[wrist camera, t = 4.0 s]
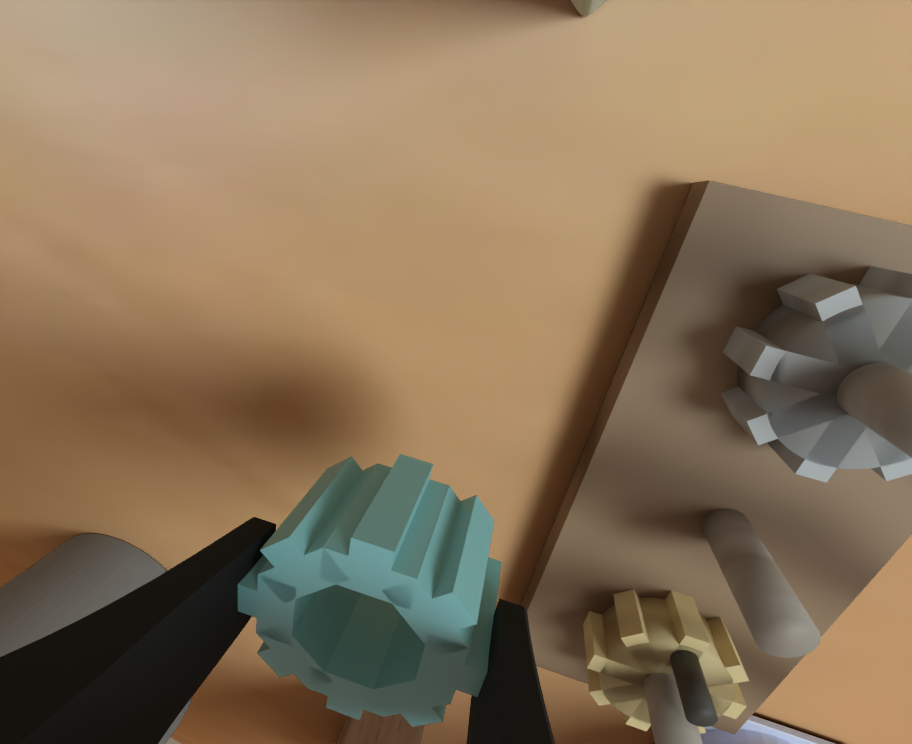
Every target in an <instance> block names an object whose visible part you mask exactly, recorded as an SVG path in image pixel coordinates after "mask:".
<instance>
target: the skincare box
mask: <svg viewBox="0 0 912 744" xmlns="http://www.w3.org/2000/svg"><path fill="white" fill-rule="evenodd" d="M605 1H606V0H571V2H572V3H573V5H574V6H575V8H576V9H577V11H578V12H579V13H580V14H581V15H583V16H588V15H590V14H591V13H593V12H594V11H595V10H596V9H597V8H598V7H600V6H601V5H602V4H603V3H604V2H605Z"/></svg>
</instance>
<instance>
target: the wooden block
mask: <svg viewBox="0 0 912 744" xmlns="http://www.w3.org/2000/svg"><path fill="white" fill-rule="evenodd" d="M423 729H424V725H420V726H414V727H412V726H411V725H410V724H409V723H408V721H407V720H406V719H405V718H404V717H403V716H402V714H401V713H400V714H395V715H390V716H385V717H382V716H380V715H377V714H374V713H372V712H369V711H366V710H363V713H362V715H361V718H360V720H357V719H355V718H352V717H349V716H347V718H346V720H345V723H344V725H343V727H342V730H341V732H340V735H339V737H338V740H337V742H336V744H420V742H421V737H422V733H423Z"/></svg>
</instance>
